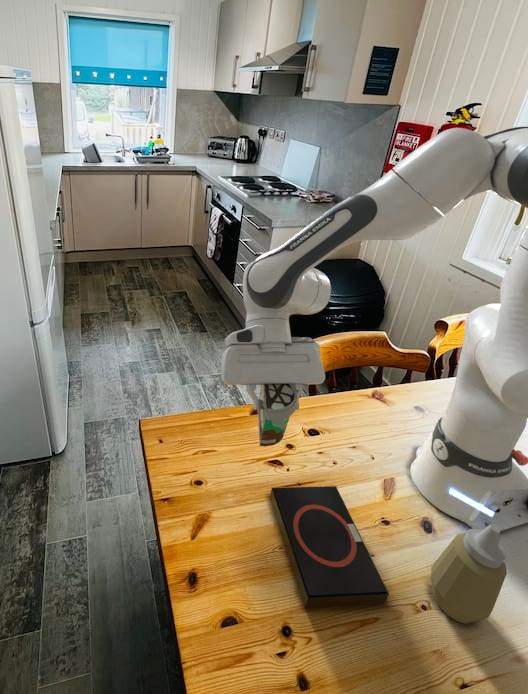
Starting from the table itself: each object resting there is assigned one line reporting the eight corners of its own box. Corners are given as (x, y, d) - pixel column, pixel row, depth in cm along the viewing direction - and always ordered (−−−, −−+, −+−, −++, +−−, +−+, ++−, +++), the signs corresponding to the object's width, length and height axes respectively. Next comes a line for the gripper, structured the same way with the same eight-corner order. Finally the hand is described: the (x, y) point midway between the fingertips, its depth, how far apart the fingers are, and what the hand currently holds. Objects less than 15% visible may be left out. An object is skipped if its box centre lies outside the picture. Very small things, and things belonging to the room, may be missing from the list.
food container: (294, 458, 72) (303, 416, 68) (260, 452, 73) (267, 411, 69) (286, 408, 83) (294, 370, 79) (257, 404, 84) (263, 366, 80)
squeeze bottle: (417, 599, 63) (455, 526, 56) (431, 561, 68) (467, 490, 61) (478, 647, 58) (529, 573, 51) (488, 602, 63) (535, 529, 56)
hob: (333, 495, 78) (336, 484, 77) (384, 604, 62) (389, 592, 61) (269, 497, 77) (272, 486, 76) (304, 608, 61) (308, 596, 60)
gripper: (311, 339, 84) (321, 409, 79) (217, 339, 83) (221, 410, 78) (324, 334, 78) (336, 408, 73) (223, 334, 77) (228, 410, 72)
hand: (276, 409), depth 75 cm, fingers closed on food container, 5 cm apart
